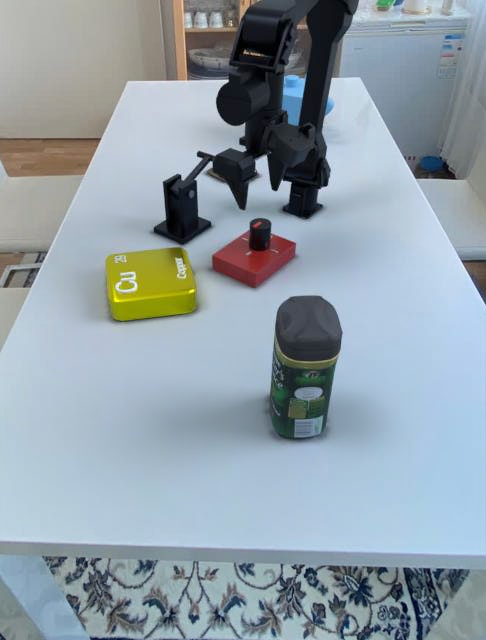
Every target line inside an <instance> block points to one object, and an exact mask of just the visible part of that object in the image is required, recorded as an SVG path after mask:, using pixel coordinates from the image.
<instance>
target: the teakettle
mask: <svg viewBox="0 0 486 640" xmlns="http://www.w3.org/2000/svg"><path fill="white" fill-rule="evenodd" d="M305 80H306V74H305V75H304V77H303V78H300V76H298V75H296V74H288V75H284V87H283V101H282V110H286V111H287V114H288V123H289V124H292V125H297V126H298V123H299V116H300V110H301V104H302V98H303V92H304V86H305ZM334 107H335V101H334V100H333V99H332V98H331V97H329V96H328V101H327V106H326V112H325V117H327V116H328V115H329V114H330V113H331V112H332V110H333V109H334Z"/></svg>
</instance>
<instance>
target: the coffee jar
mask: <svg viewBox="0 0 486 640" xmlns="http://www.w3.org/2000/svg"><path fill="white" fill-rule="evenodd" d="M343 334H344V332H343V329H342V325H341V320H340V318H339V314H338V312H337V310H336V308H335V306H334V305H333V304H332V303H331V302H330V301H328V300H327V299H326V298H324V297H323V296H322V295H294V296H292V295H291V296H290V297H288V298H287V299H286V300H284V301H282V303H281V304H280V305H279V306H278V308H277V310H276V317H275V324H274V335H273V336H274V337H273V346H272V347H273V348H272V358H271V359H272V361H271V375H270V377H271V378H270V388H269V389H270V391H269V415H270V419H271V420H270V421H271V423H272V426H273V428H274V430H275V431H276V432H277V433H278V434H279V435H281V436H283V437H286V438H290V439H308V438H314V437H316V436H318V435H320V434H322V433H323V432H324V430H325V429H326V425H327V420H328V414H329V409H330V408H329V407H330V402H331V396H332V390H333V384H334V378H335V373H336V368H337V367H336V366H337V363H338V360H339V357H340V353H341V349H342V338H343Z"/></svg>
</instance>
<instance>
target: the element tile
mask: <svg viewBox="0 0 486 640" xmlns="http://www.w3.org/2000/svg"><path fill="white" fill-rule="evenodd" d="M104 263H105V264H104V265H105V276H106V290H107V299H108V304H109V305H108V306H109V310H110V315H111V317H112V318H113V319H114V320H116V321H121V322H125V321H126V322H127V321H136V320H142V319H151V318H159V317H166V316H167V317H169V316H176V315H184V314H189V313H192V312H194V311H195V310H196V309H197V306H198V298H197V284H196V281H195V277H194V273H193V269H192V265H191V261H190V258H189V254H188V251H187V250H186V249H185V248H184V247H181V246H174V247H166V248H157V249H155V248H154V249H147V250H138V251H137V250H136V251H128V252H127V251H126V252H120V253H119V252H118V253H112V254H109V255H108V256H107V257H106V258H105V262H104Z"/></svg>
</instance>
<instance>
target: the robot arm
mask: <svg viewBox="0 0 486 640" xmlns="http://www.w3.org/2000/svg"><path fill="white" fill-rule="evenodd" d="M359 3H360V0H258V1H256V2H254V3H252V4H250V5H249V6H248V7H247V9H245V11H244V13H243V15H242V16H241V18H240V21H239V25H238V27H237V28H238V29H237V31H236V35H235V39H234V42H233V46H232V49H231V54H230V56H229V61H228V66H229V67H235V68H237V69H233V70H231V71H229V72H228V82H225V83H224V84H223V85H222V86H221V87H220V88H219V90H218V92H217V95H216V97H215V106H216V110H217V113H218V115H219V117H220V119H222V120H223V122H224V123H226V124H227V125H229V126H231V127H241V126H242V125H244V135H242V136H241V137H239V138H238V145H239V146H242V147H244V148H245V150H244V151H241V150H238V149H236V148H233V147H229V148H227V149H225V150H223V151H220V152H219V153H217V154H216V155H214V156H215V157H214V158H213V159H212V162H211V164H212V167H211V168H213V173H216V174H218V175H220V176H222V177H224V179H225V181H224V182H226V185H228V187H229V189H230V192H231V194H232V196H233V198H234V201H235V202H236V205H237V206H238V209H239V210H241V211H245V210H246V207H247V203H248V196H249V195H248V194H249V185H250V182H251V181H253V180H252V179H253V178H255V175H253V173H254V171H255V172H256V170H255V169H256V165H257V162H256V161H258V160H260V159H262V158H264V157H266V158H267V159H266V160H267V161H266V162H267V168H268V175H269V176H268V177H269V183H270V188H271V190H272V191H273V192H279V188H280V186H281V183H282V182H288V183H290V188H289V189H290V190H289V196H288V197H289V198H288V203H287V204H285V205H283V206H282V209H281V210H282V211H284V212H285V213H290V214H291V215H295V216H297V217H301V218H303V219H309V218H311V217H312V216H313V215H315V214H316V213H318V212H319V211H320V210H321V209H323V208H324V204H322V203H319V202H318V198H319V191H320V190H322V188H327V187H329V182H330V177H331V173H332V169H331V167H330V164H329V162H328V160H327V152H328V146H327V143H326V139H325V137H324V133H323V129H324V122H325V117H326V116H325V112H326V106H327V101H328V97H329V95H330V90H331V84H332V81H333V80H332V79H333V74H334V69H335V63H336V57H337V54H338V53H337V52H338V47H339V43H340V42H341V40H342V39H343V38H344V36H345V35H346V33H347V32H348V31H349V29H350V28H351V27H352V23H353V19H354V15H355V14H356V13H357V10H358V7H359ZM304 18H305V24H306V27H307V30H308V33H309V36H310V39H311V42H310V49H309V56H308V62H307V67H306V73H305V75H306V80H305V86H304V92H303V98H302V104H301V110H300V116H299V123H298V126H297V125H292V124H289V123H288V114H287V111H286V110H282V101H283V87H284V76H285V74H286V73H285V71H286V69H285V68H286V66H288V65H289V64H290V60H289V59H290V56H291V54H292V51H293V49H294V46H295V43H296V41H297V39H298V25H299V24H300V23H301V22H302V21H303V19H304ZM245 52H246V53H245ZM255 54H257V55H255ZM255 179H256V178H255Z"/></svg>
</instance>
